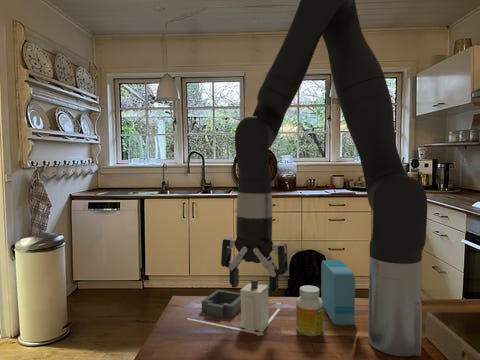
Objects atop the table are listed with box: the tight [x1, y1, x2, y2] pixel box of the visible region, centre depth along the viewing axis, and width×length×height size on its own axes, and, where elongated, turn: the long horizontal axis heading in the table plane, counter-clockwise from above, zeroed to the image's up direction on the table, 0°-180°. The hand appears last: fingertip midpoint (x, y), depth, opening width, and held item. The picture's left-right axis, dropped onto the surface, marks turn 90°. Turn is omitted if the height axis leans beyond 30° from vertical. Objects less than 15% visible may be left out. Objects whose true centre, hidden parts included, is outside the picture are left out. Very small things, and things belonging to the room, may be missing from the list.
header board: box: [186, 307, 281, 337], centre depth 80 cm, size 18×14×1 cm
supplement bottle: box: [295, 285, 324, 337], centre depth 72 cm, size 5×5×10 cm
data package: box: [320, 259, 356, 326], centre depth 80 cm, size 12×4×12 cm, turn 0°
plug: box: [240, 279, 270, 333], centre depth 74 cm, size 4×6×10 cm
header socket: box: [201, 289, 241, 319], centre depth 83 cm, size 10×9×2 cm
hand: (253, 289), depth 74 cm, fingers open, 8 cm apart
